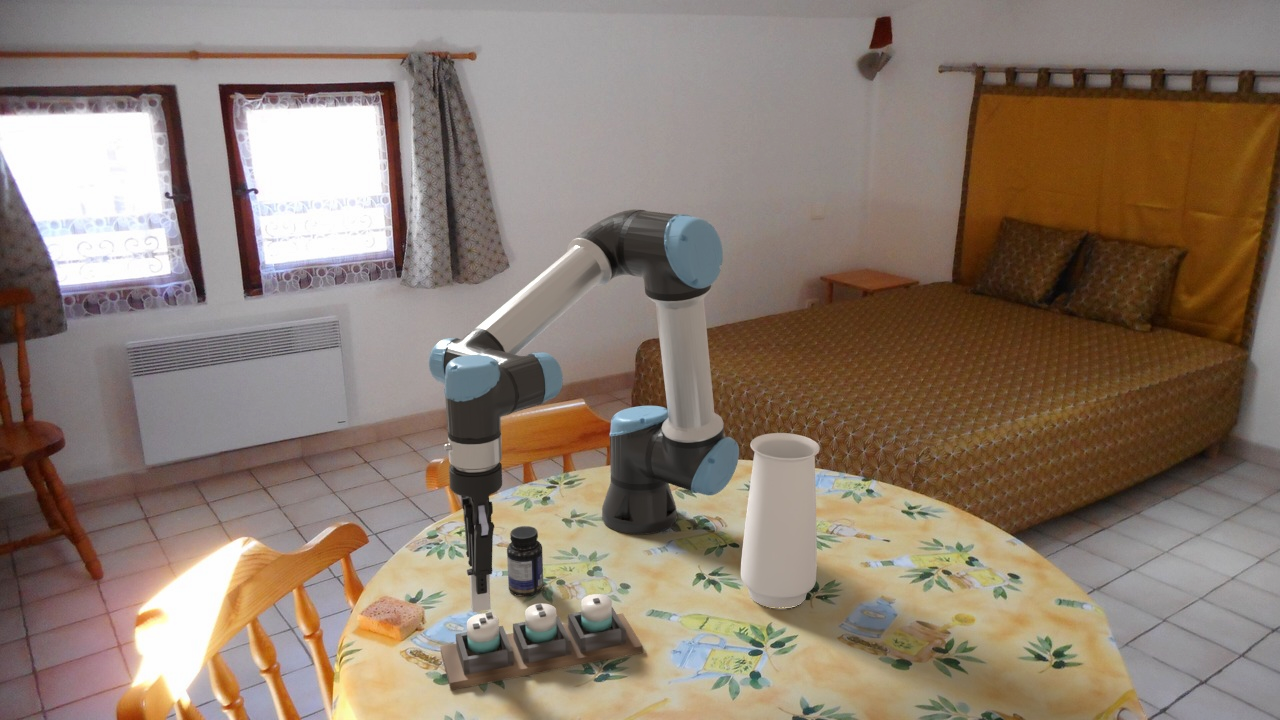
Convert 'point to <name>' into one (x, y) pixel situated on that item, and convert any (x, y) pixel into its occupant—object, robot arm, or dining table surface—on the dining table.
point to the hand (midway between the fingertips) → (480, 608)
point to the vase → (781, 521)
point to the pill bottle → (525, 562)
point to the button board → (537, 651)
